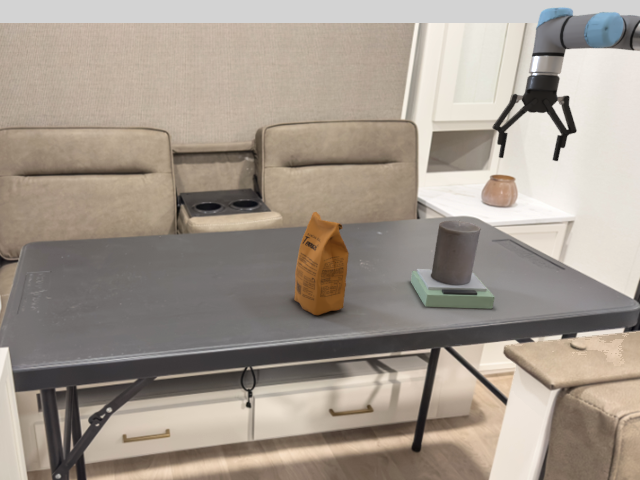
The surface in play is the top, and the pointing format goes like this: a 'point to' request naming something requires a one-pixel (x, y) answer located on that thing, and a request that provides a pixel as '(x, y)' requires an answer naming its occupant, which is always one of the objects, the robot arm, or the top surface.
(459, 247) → the pillar candle
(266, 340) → the top surface
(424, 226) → the top surface
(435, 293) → the scale
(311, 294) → the coffee package
